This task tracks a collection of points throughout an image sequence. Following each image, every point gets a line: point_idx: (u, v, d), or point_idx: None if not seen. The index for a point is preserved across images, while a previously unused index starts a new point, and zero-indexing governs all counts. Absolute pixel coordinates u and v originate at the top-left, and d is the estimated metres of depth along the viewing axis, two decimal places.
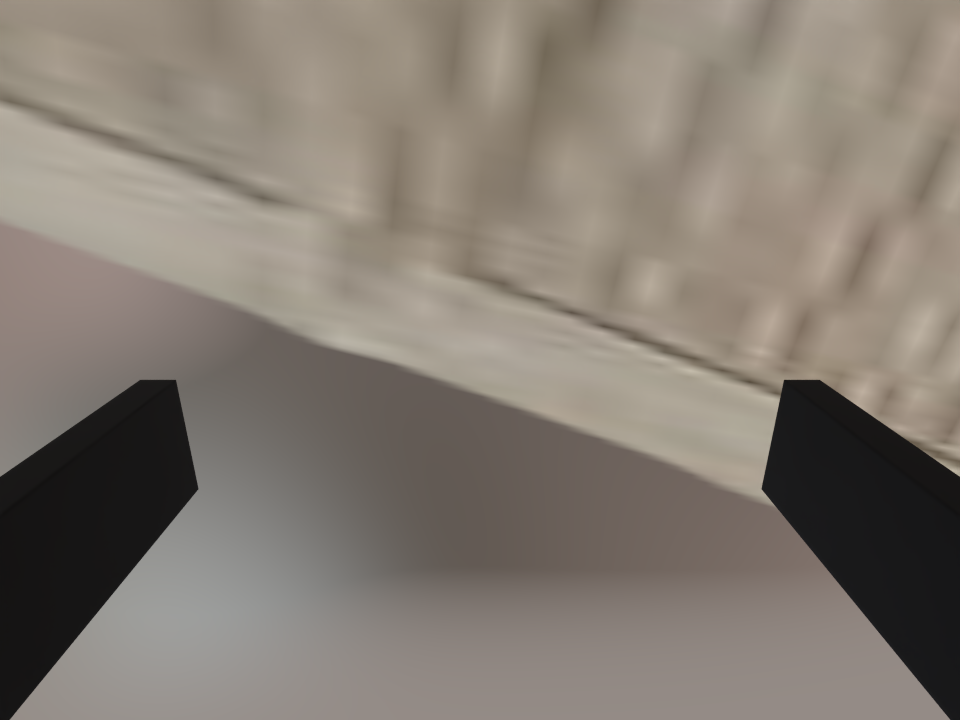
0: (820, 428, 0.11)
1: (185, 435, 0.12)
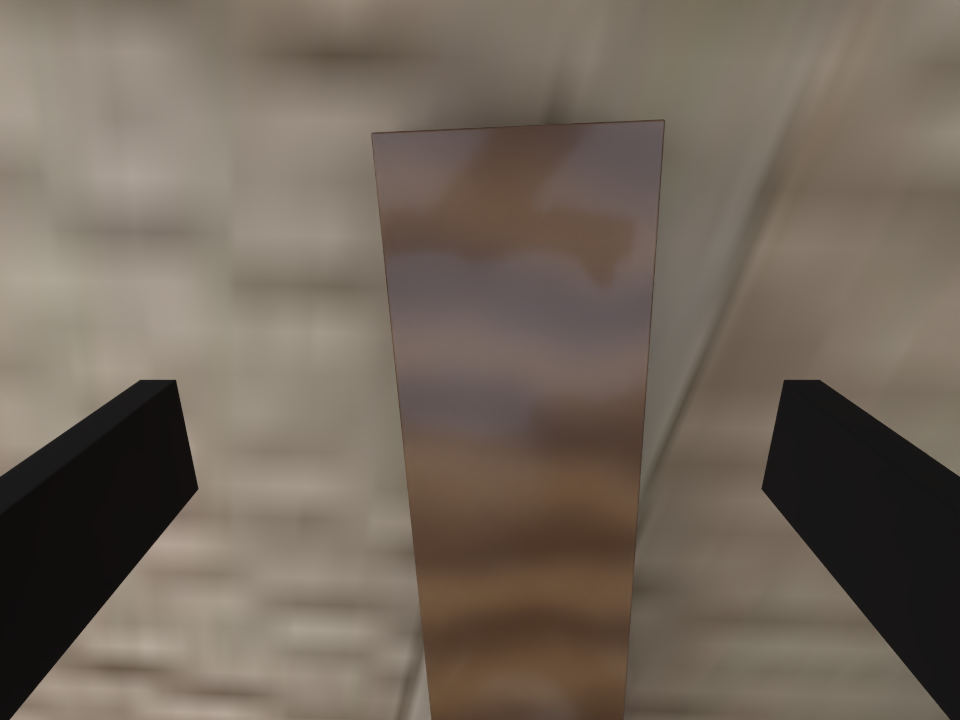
0: (820, 428, 0.11)
1: (185, 435, 0.12)
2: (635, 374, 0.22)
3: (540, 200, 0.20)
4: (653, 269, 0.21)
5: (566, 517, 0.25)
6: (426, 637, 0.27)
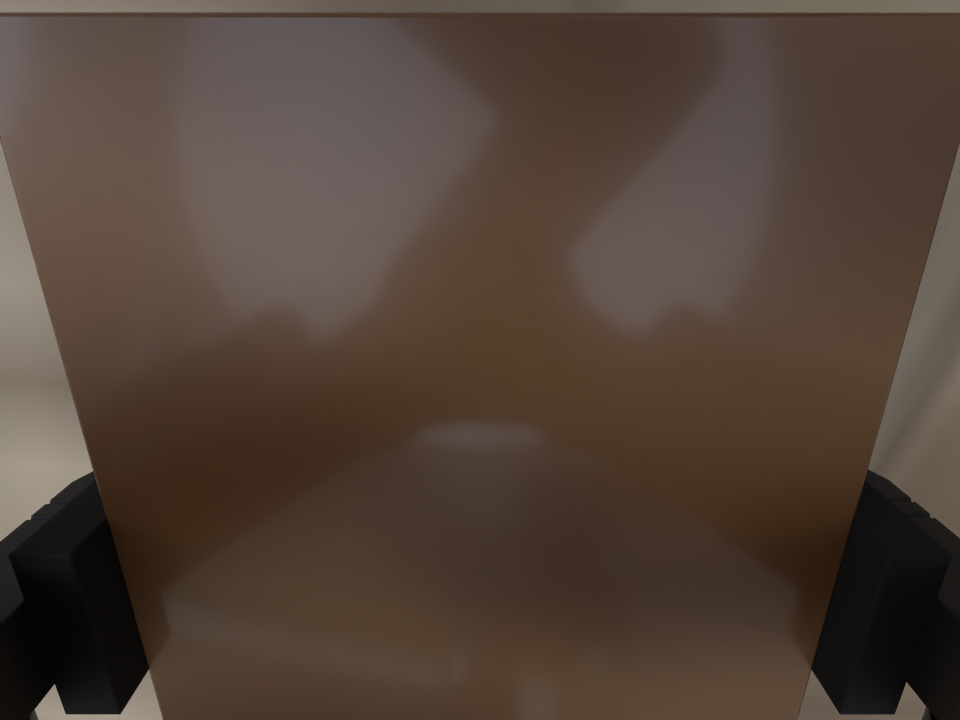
0: None
1: None
2: (771, 705, 0.09)
3: (549, 266, 0.06)
4: (864, 470, 0.07)
5: None
6: None
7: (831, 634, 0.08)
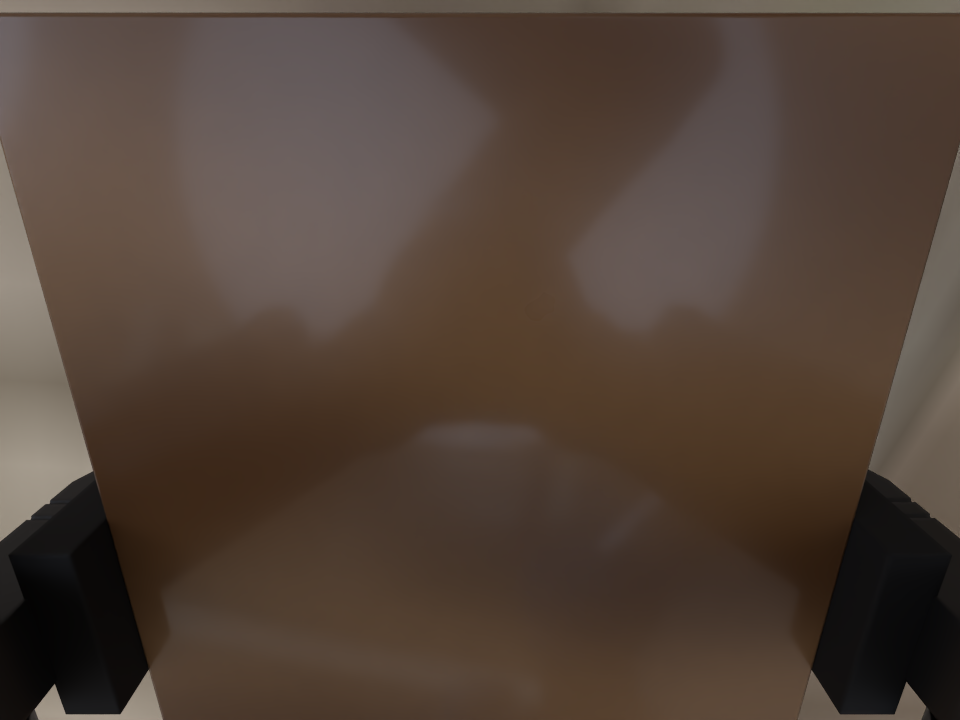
0: None
1: None
2: (772, 705, 0.09)
3: (549, 267, 0.06)
4: (865, 471, 0.07)
5: None
6: None
7: (831, 634, 0.08)
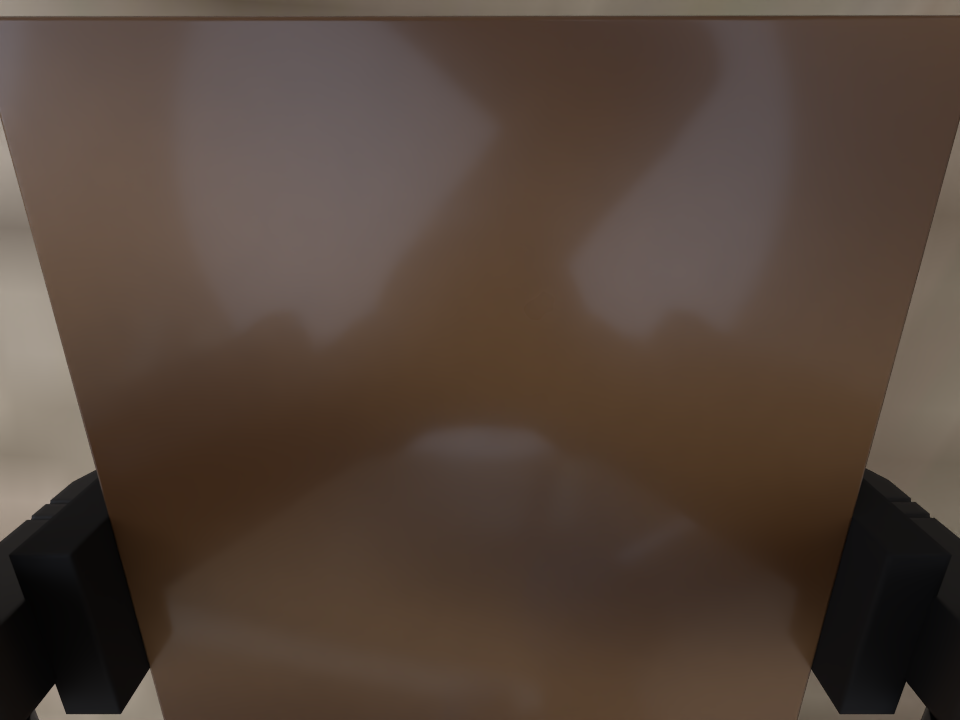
0: None
1: None
2: (772, 705, 0.09)
3: (548, 266, 0.06)
4: (862, 469, 0.07)
5: None
6: None
7: (831, 634, 0.08)
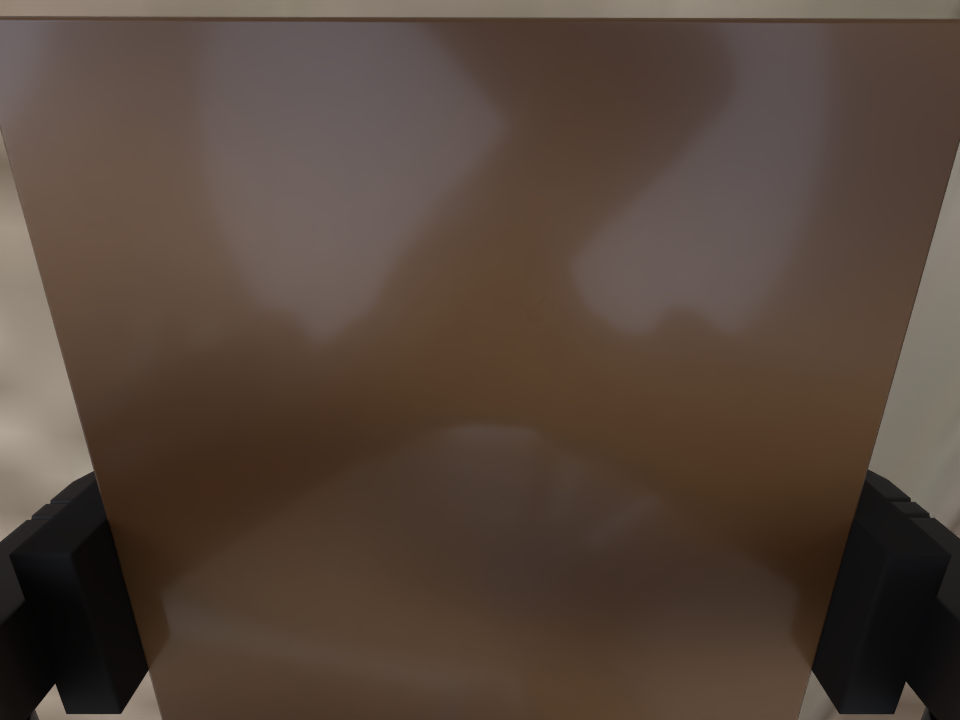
0: None
1: None
2: (771, 708, 0.09)
3: (549, 269, 0.06)
4: (864, 474, 0.07)
5: None
6: None
7: (831, 634, 0.08)
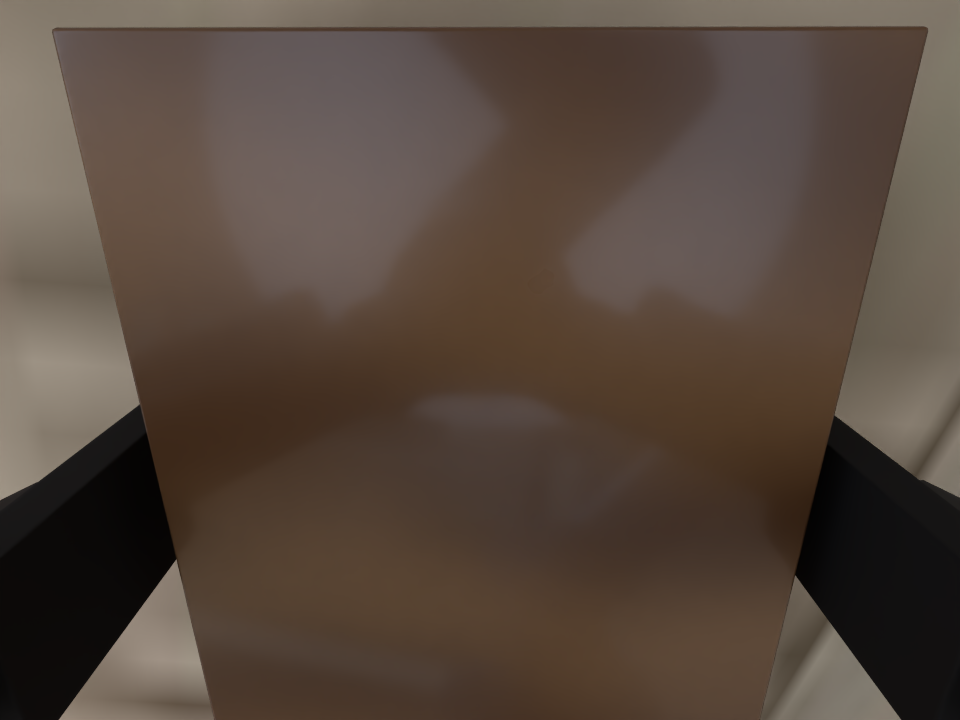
0: None
1: None
2: (750, 647, 0.10)
3: (548, 245, 0.07)
4: (828, 428, 0.08)
5: None
6: None
7: (913, 665, 0.08)
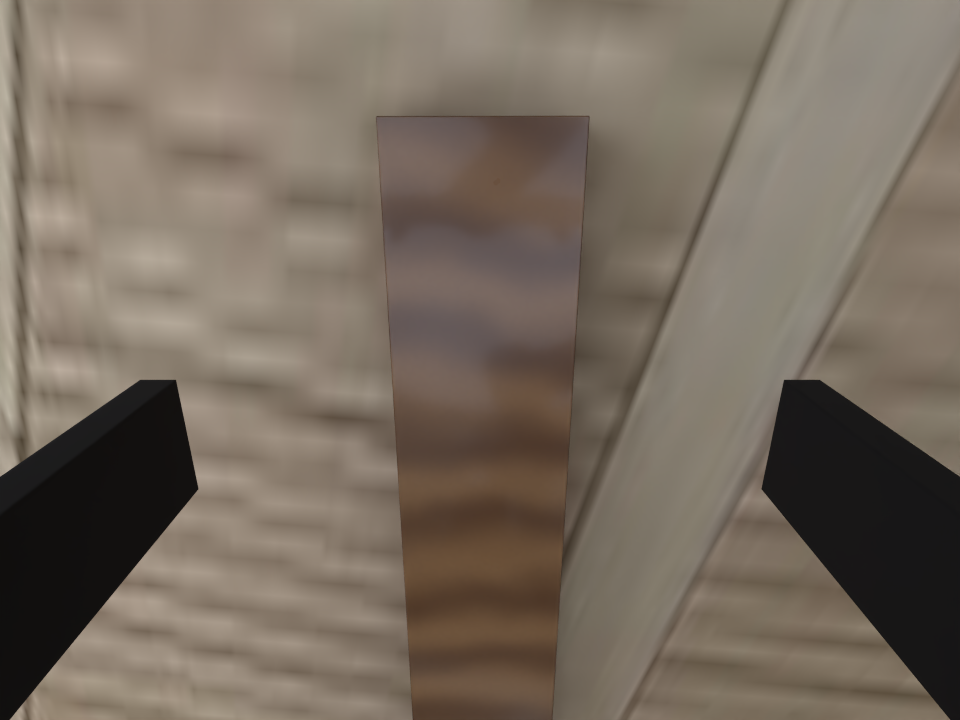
0: (819, 428, 0.11)
1: (185, 436, 0.12)
2: (568, 308, 0.30)
3: (498, 171, 0.27)
4: (581, 227, 0.28)
5: (515, 422, 0.32)
6: (403, 521, 0.34)
7: None
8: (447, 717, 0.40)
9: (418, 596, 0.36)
